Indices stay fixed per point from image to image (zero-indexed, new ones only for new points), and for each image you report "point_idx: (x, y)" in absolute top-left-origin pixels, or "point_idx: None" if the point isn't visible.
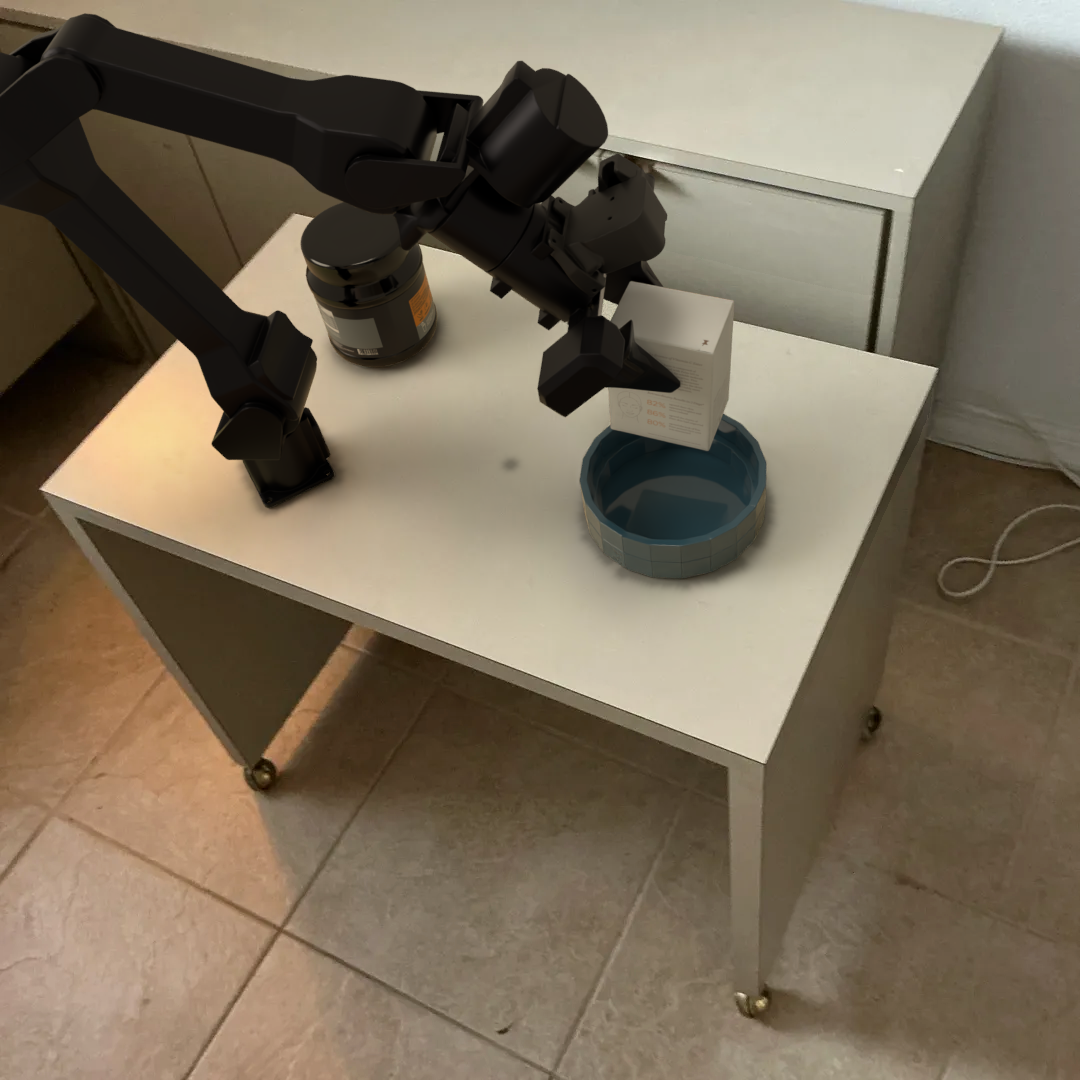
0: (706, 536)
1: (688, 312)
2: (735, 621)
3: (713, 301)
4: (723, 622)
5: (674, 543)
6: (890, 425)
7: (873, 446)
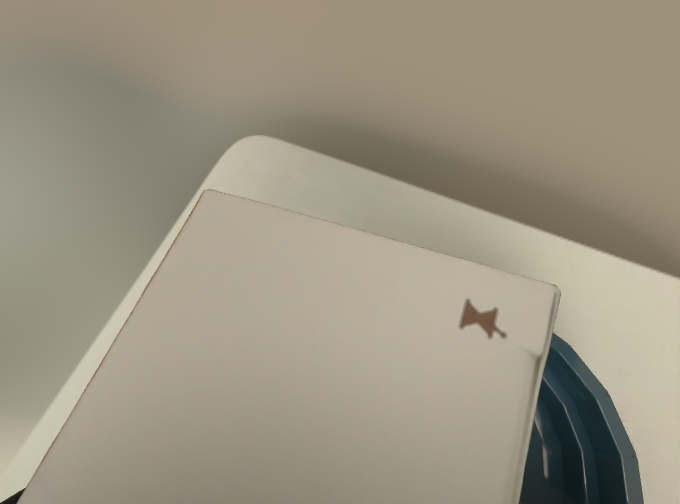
0: (602, 401)
1: (241, 399)
2: (646, 367)
3: (192, 266)
4: (652, 385)
5: (632, 469)
6: (308, 163)
7: (337, 181)
